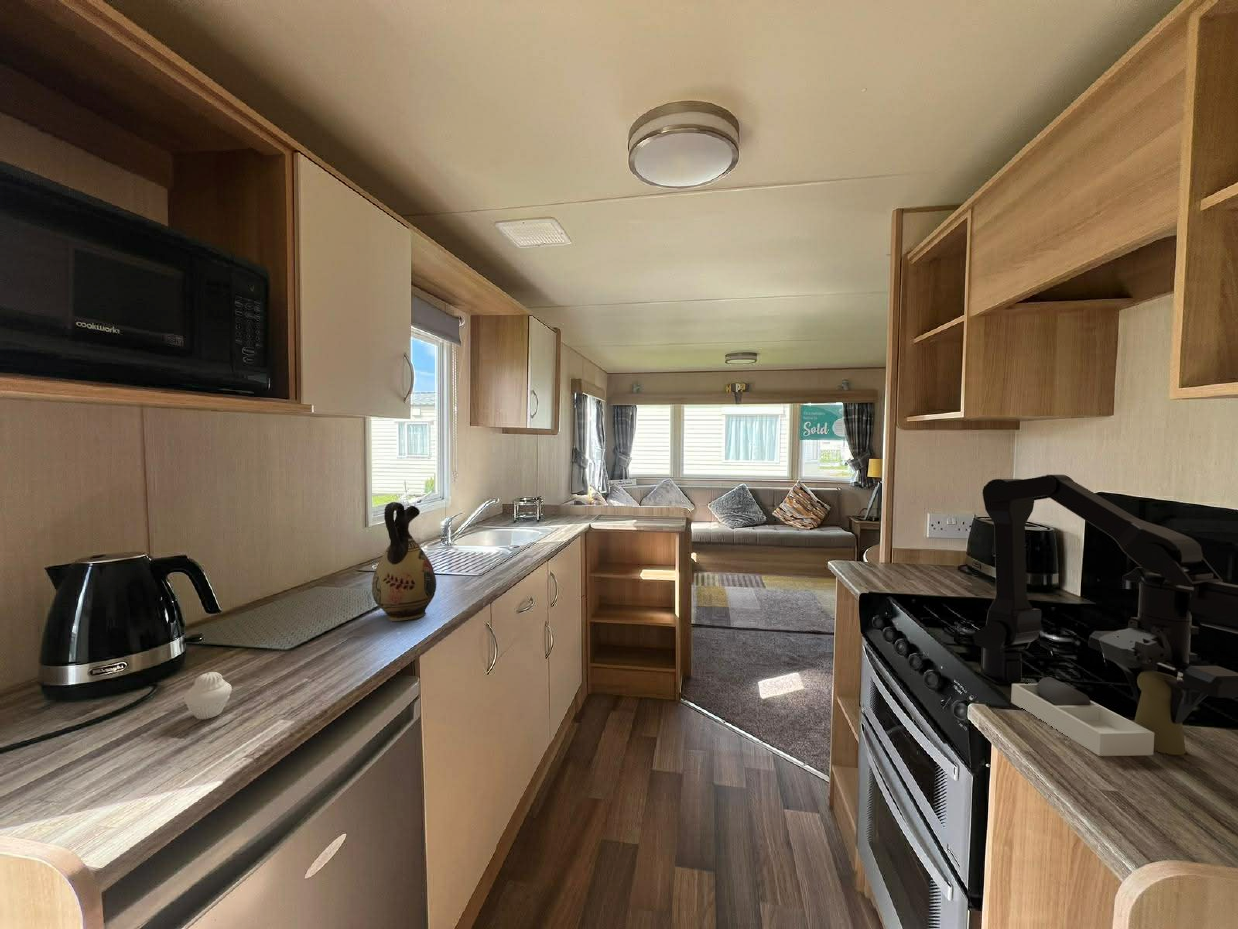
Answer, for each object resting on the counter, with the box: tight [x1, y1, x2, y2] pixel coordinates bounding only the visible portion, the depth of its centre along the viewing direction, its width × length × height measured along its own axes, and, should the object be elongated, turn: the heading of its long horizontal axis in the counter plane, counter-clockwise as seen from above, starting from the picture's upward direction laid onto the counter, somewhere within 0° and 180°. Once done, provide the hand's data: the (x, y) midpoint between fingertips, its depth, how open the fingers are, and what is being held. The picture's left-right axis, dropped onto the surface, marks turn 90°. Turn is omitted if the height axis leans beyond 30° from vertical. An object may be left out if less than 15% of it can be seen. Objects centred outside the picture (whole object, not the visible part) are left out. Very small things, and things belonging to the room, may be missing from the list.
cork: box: [1133, 671, 1187, 756], centre depth 81 cm, size 6×6×11 cm
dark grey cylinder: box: [1037, 676, 1090, 706], centre depth 90 cm, size 6×4×4 cm
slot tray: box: [1010, 682, 1154, 757], centre depth 86 cm, size 16×8×3 cm, turn 3°
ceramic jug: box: [371, 501, 437, 622], centre depth 135 cm, size 17×15×30 cm
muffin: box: [184, 671, 233, 720], centre depth 86 cm, size 6×6×7 cm
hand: (1158, 715), depth 82 cm, fingers closed on cork, 4 cm apart
